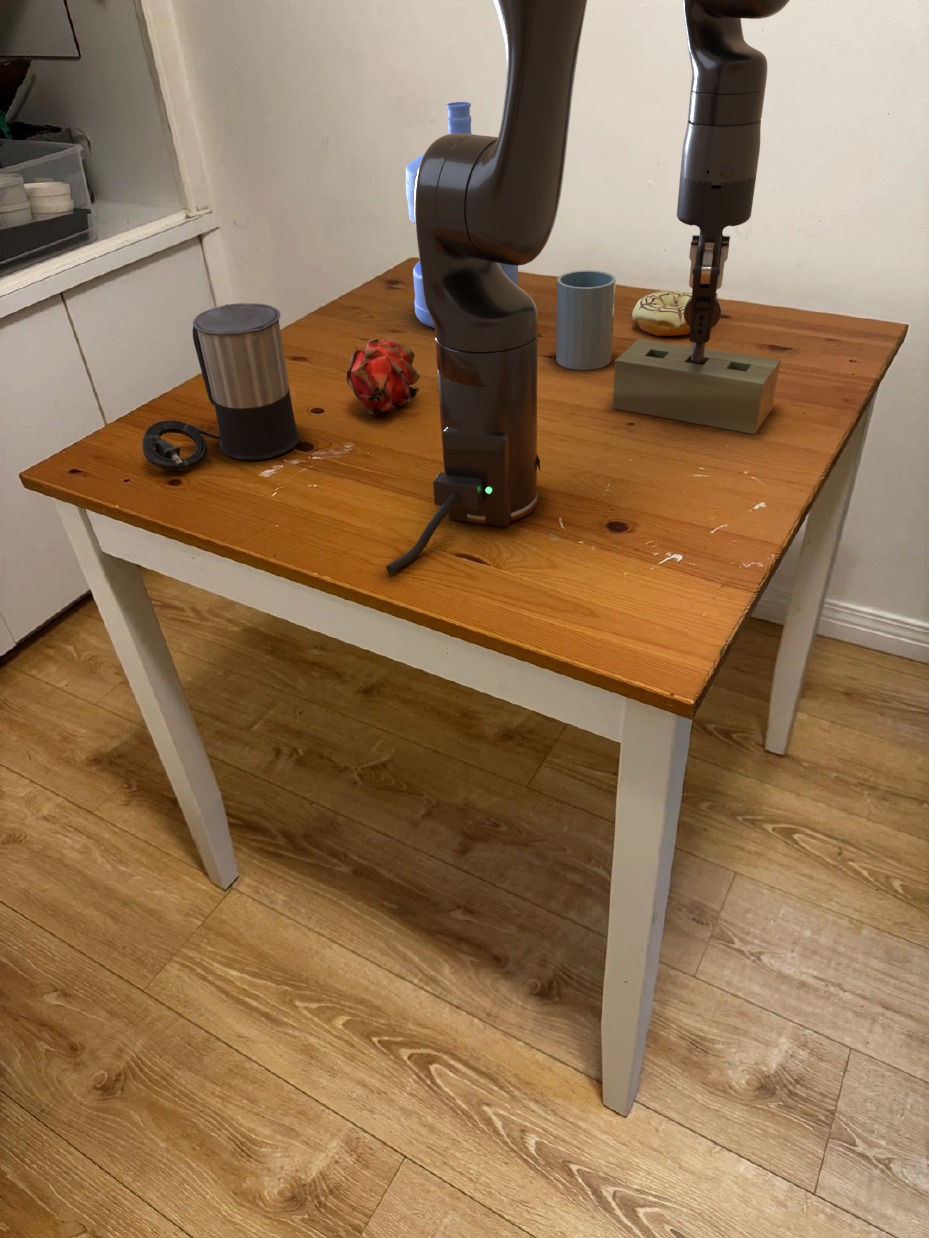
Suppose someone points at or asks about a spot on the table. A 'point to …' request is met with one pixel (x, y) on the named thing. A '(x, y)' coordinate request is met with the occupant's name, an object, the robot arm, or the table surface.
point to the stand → (695, 385)
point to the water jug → (457, 125)
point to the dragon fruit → (382, 375)
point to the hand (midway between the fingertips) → (699, 338)
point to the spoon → (699, 348)
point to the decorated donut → (662, 313)
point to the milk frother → (236, 389)
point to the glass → (585, 319)
